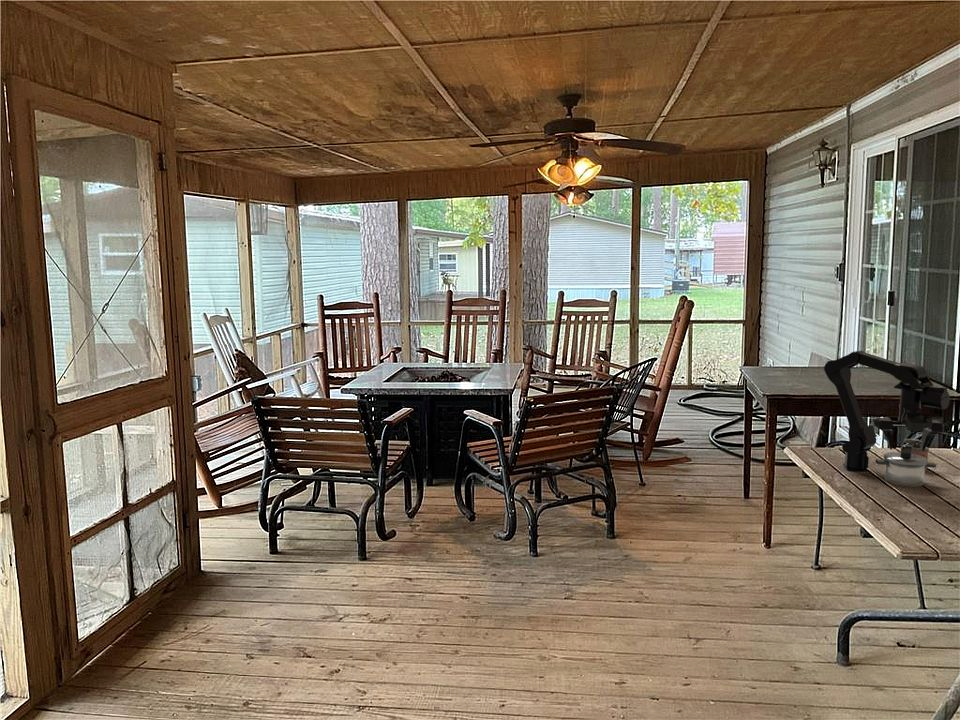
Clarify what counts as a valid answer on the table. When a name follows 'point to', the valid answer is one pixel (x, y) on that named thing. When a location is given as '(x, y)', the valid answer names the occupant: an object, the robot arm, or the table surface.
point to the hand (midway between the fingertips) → (906, 450)
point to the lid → (906, 457)
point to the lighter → (917, 448)
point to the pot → (904, 473)
